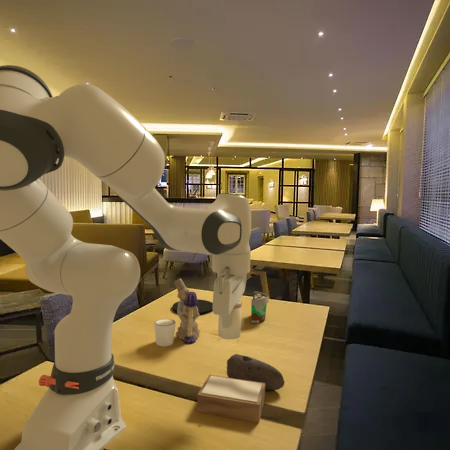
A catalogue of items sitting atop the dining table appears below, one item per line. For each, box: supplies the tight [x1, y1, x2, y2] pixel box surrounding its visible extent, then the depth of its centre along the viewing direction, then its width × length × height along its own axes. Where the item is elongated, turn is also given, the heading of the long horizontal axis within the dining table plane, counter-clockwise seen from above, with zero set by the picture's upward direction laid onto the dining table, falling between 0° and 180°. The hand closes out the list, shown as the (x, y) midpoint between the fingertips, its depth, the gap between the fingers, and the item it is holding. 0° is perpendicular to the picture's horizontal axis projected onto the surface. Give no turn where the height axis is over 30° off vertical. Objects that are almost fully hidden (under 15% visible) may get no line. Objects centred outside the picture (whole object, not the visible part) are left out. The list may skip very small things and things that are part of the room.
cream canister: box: [217, 299, 243, 340], centre depth 82 cm, size 5×5×8 cm
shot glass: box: [153, 318, 176, 347], centre depth 114 cm, size 7×7×7 cm
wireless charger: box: [172, 298, 213, 316], centre depth 148 cm, size 18×18×2 cm
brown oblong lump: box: [226, 353, 285, 391], centre depth 89 cm, size 15×5×7 cm, turn 64°
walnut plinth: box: [196, 374, 266, 423], centre depth 81 cm, size 9×14×4 cm, turn 76°
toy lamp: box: [182, 291, 198, 345], centre depth 115 cm, size 5×5×17 cm
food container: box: [250, 290, 269, 324], centre depth 135 cm, size 12×6×10 cm, turn 171°
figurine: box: [174, 278, 201, 340], centre depth 118 cm, size 9×8×20 cm
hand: (229, 321), depth 82 cm, fingers closed on cream canister, 5 cm apart
